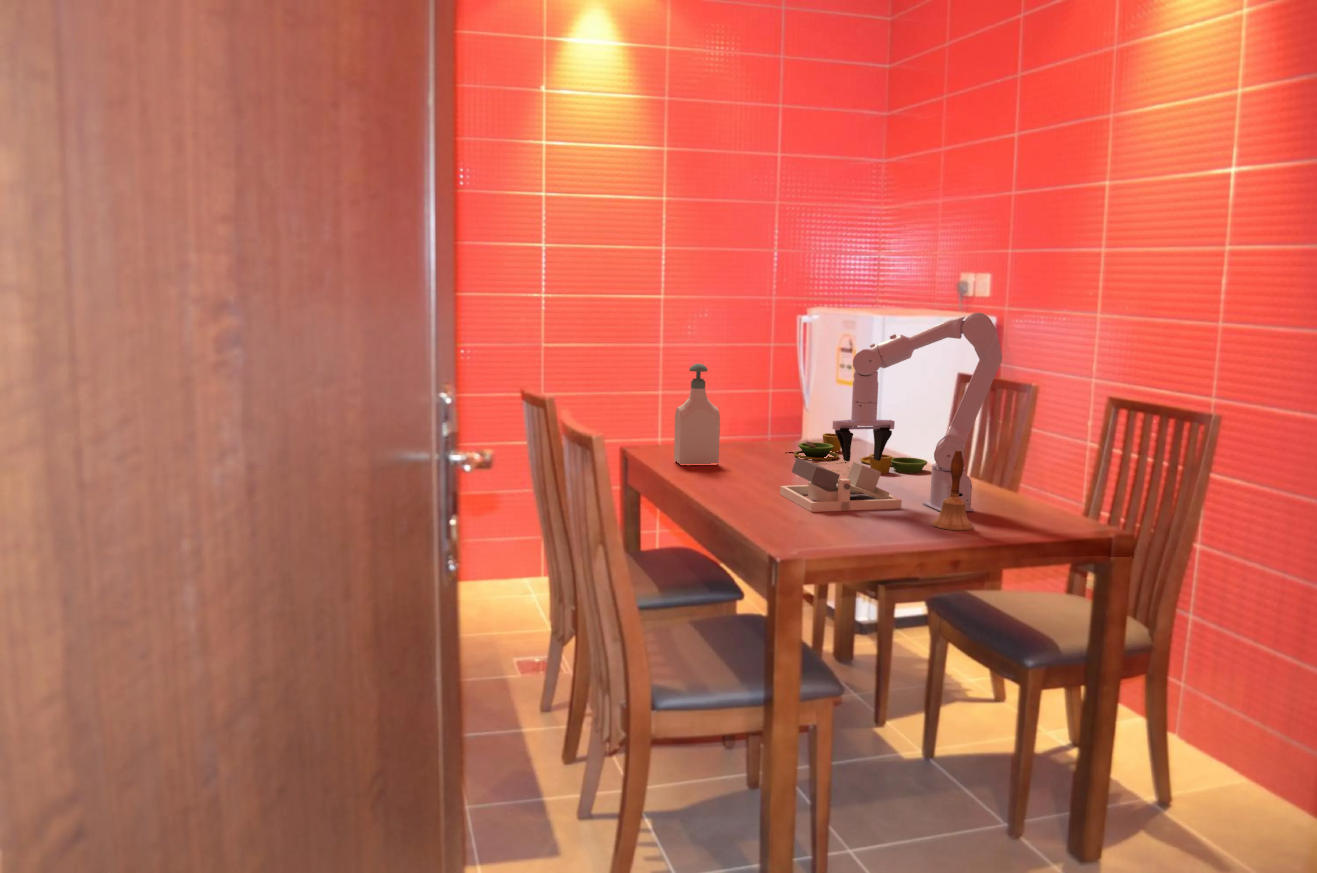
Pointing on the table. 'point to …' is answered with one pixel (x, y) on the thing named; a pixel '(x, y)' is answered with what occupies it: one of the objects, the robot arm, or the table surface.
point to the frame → (835, 498)
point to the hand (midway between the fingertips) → (861, 460)
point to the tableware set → (832, 444)
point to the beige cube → (864, 477)
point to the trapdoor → (828, 477)
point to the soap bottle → (697, 425)
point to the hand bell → (954, 501)
